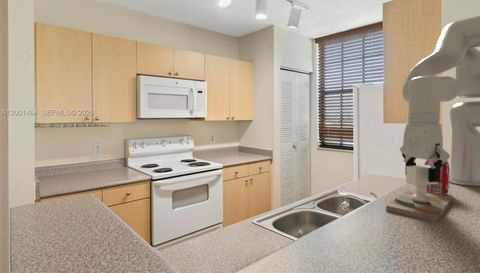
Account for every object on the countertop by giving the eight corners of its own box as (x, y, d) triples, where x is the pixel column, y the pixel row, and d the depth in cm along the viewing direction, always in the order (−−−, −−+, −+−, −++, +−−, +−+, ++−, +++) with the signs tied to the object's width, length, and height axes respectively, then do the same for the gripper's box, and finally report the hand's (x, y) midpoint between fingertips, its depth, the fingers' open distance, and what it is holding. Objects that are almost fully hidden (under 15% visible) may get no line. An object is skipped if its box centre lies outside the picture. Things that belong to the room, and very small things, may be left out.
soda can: (439, 190, 95) (441, 157, 94) (453, 196, 88) (455, 160, 87) (419, 190, 96) (420, 157, 95) (431, 196, 89) (432, 160, 88)
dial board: (408, 194, 92) (408, 186, 92) (452, 201, 83) (453, 193, 83) (386, 210, 77) (386, 202, 77) (436, 222, 68) (437, 212, 68)
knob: (404, 198, 81) (405, 165, 81) (425, 197, 82) (426, 164, 82) (429, 208, 73) (430, 172, 72) (452, 207, 74) (454, 170, 73)
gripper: (391, 119, 86) (389, 172, 87) (438, 120, 69) (435, 186, 70) (411, 118, 87) (410, 171, 88) (463, 119, 70) (460, 185, 71)
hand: (421, 177), depth 79 cm, fingers open, 7 cm apart
